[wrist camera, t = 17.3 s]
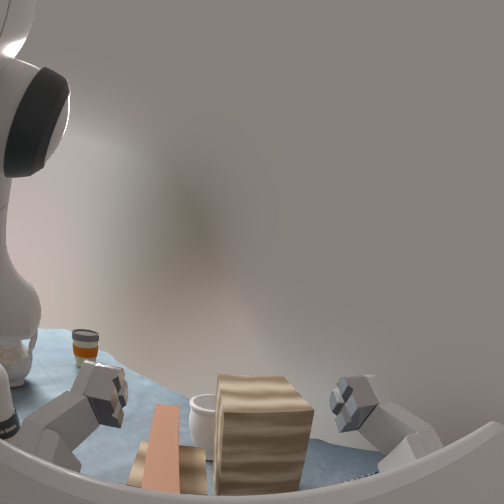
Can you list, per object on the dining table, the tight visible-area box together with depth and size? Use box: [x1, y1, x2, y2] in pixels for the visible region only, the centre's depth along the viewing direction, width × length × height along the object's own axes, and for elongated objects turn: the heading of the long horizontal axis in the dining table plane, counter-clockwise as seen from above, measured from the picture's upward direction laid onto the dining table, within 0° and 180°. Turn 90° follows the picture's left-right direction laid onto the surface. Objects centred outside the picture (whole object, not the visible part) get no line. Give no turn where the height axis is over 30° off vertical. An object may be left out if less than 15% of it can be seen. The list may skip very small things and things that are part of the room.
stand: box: [212, 374, 314, 496], centre depth 38 cm, size 16×12×26 cm
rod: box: [141, 404, 180, 493], centre depth 28 cm, size 28×4×4 cm, turn 13°
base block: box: [126, 440, 208, 495], centre depth 28 cm, size 12×10×16 cm
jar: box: [189, 394, 216, 461], centre depth 56 cm, size 11×10×15 cm
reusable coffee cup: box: [72, 329, 99, 367], centre depth 99 cm, size 13×12×15 cm
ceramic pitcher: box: [0, 331, 37, 388], centre depth 61 cm, size 22×20×25 cm
